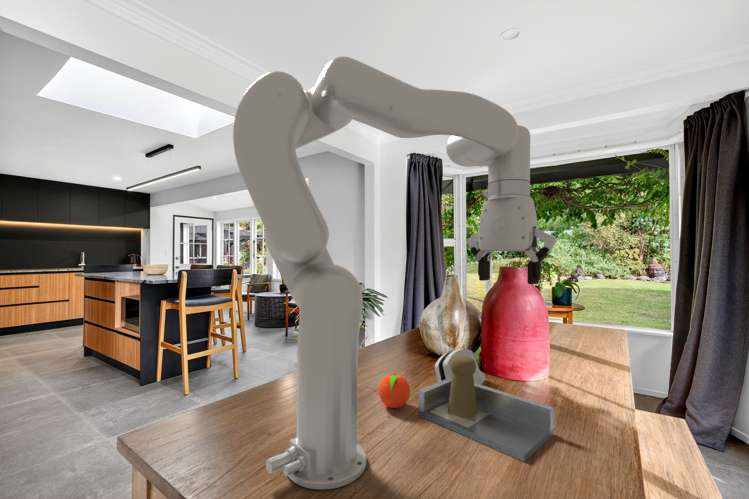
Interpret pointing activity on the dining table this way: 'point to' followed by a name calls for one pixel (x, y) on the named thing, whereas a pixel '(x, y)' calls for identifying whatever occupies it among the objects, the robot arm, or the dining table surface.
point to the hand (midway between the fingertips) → (507, 281)
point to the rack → (492, 419)
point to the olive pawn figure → (462, 387)
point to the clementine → (394, 391)
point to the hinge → (445, 371)
